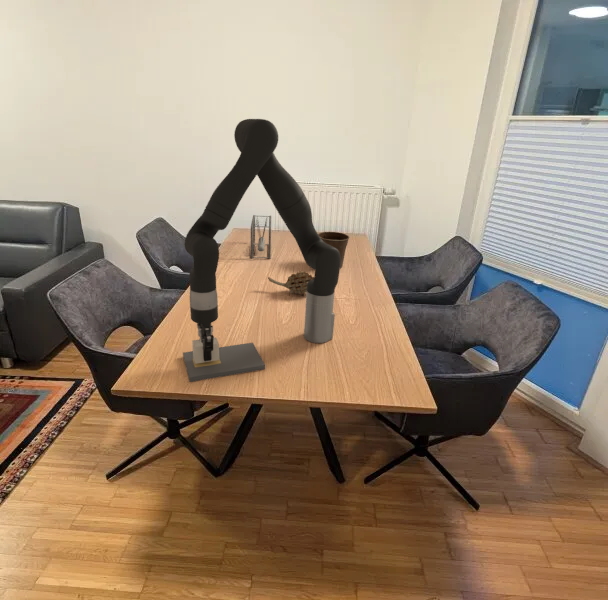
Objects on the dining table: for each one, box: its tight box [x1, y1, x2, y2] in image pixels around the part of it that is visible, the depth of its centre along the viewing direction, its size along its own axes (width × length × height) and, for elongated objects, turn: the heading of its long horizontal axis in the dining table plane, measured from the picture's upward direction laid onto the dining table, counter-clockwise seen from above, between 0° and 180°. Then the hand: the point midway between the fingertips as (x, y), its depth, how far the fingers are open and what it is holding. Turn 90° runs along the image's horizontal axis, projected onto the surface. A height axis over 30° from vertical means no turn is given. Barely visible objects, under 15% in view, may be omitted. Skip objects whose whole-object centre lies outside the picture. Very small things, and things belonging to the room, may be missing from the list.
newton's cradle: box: [250, 214, 272, 260], centre depth 228 cm, size 30×10×18 cm, turn 4°
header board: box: [182, 342, 266, 383], centre depth 123 cm, size 22×14×6 cm, turn 112°
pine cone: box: [267, 270, 314, 295], centre depth 176 cm, size 22×10×10 cm, turn 84°
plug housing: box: [191, 336, 220, 364], centre depth 120 cm, size 7×4×6 cm, turn 112°
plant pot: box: [318, 231, 350, 269], centre depth 211 cm, size 16×16×16 cm
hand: (206, 356), depth 121 cm, fingers closed on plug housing, 4 cm apart
